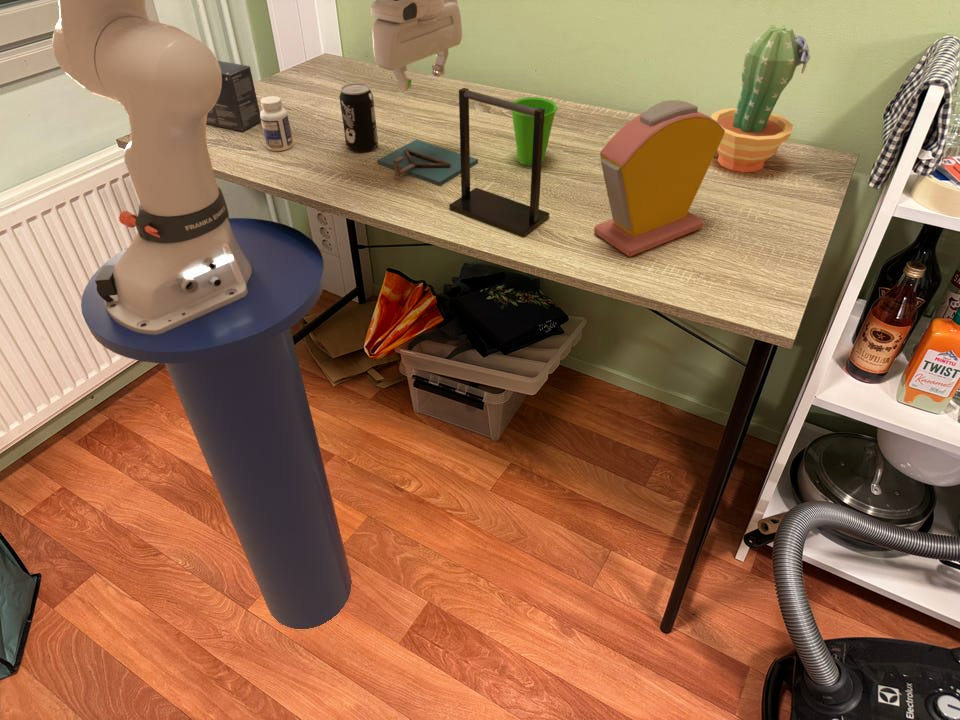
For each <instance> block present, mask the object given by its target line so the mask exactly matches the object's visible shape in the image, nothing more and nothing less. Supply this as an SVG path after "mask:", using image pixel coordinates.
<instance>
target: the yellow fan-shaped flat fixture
mask: <svg viewBox="0 0 960 720" xmlns="http://www.w3.org/2000/svg"><path fill="white" fill-rule="evenodd" d="M698 109H699V106H697V105H695V104H692V103H690V102H688V101H685V100H679V99H677V100H674V99H673V100H672V99H671V100H664V101H663V100H662V101H661V102H659V103H656V104H654V105H652V106H651V107H649V108H648V109H647V110H645V111H644V112H641V113H640V114H638V115H637V116H636V117H634V118H632V119H631V120H630V121H628V122H626V124H625V125H624V126H623V127H621V129H619V131H617V132H616V133H615V134H614V135H613V136H612V137H611V138H610V140H608V142H607V143H606V144H605V146H604V147H603V148H602V149H601V150H600V153H599V155H600V165H601V169H602V174H603V179H604V185H605V188H606V193H607V198H608V203H609V207H610V212H611V216H612V218H611V219H608V220H605V221H603V222H600V223H597V224H596V225H594V230H593V233H594V234H595V235H597V236H598V237H599V238H601V239H603V240H604V241H605V242H607V243H608V244H610V245H611V246H613V247H614V248H616V249H617V250H619V251H620V252H621V253H623V254H624V255H626V256H627V257H629V258H630V257H633V256H636V255H638V254H641V253H643V252H646V251H648V250H650V249H653V248H655V247H658V246H660V245H663V244H666V243H667V242H671V241H673V240H675V239H678V238H681V237H683V236H686V235H687V234H690V233H693V232H696V231H698V230H701V229H703V225H704V220H702V219H701V218H700V217H698V216H696V215H694V214H692V212H689V211H690V209H691V207H692V204H693V202H694V200H695V198H696V196H697V194H698V191H699V189H700V188H701V186H702V185H701V184H702V183H703V181H704V178H705V176H706V174H707V172H708V170H709V169H710V166H711V164H712V162H713V159H714V157H715V155H716V154H717V152H718V151H717V149H718V147H719V145H720V142H721V140H722V138H723V136H724V134H725V133H724V132H725V130H724V129H723V128H722V127H721V125H720V124H719V123H718V122H717V121H715V120H714V119H712V118H711V116H708V115H707V114H706V113H705V114H704V113H703V112H700V111H698Z"/></svg>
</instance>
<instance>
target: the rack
mask: <svg viewBox="0 0 960 720" xmlns="http://www.w3.org/2000/svg"><path fill="white" fill-rule="evenodd" d="M470 100H472V101H475V102H479V103H482V104H483V103H484V104H487V105H491V106H495V107H498V108H502V109H505V110H509V111H511V112H512V111H515V112H519V113H523V114H526V115H530V116H533V117H534V133H533V153H532V166H531V175H530V176H531V177H530V180H531V181H530V194H529V195H530V196H529V205H527V204H524V203H522V202H519V201H516V200H513V199H511V198H507V197H505V196H501V195H500V194H496V193H493V192H490V191H487V190H485V189H482V188H478V187H474V188H473V189H471V167H470V157H471V154H470V153H471V152H470V151H471V150H470V149H471V147H470V146H471V145H470ZM458 112H459V113H458V115H459V149H460V150H459V153H460V156H461V173H460V190H461V191H460V192H461V196H460V197H459V198H458V199H456V200H453V202H451V203H449V205H448V207H449V208H448V209H449V210H450V211H452V212H455V213H458V214H460V215H464V216H466V217H468V218H471V219H475V220H477V221H479V222H482V223H485V224H487V225H490V226H493V227H495V228H498V229H500V230H503V231H506V232H507V233H508V232H509V233H510V234H514V235H517V236H519V237H522V238H525V237H526V236H528V235H529V234H530V233H532V232H533V231H534V230H535V229H537V228H538V227H539V226H540V225H542V224H543V223H544V222H546V221H548V219H550V212H548V211H545V210H542V209H540V196H541V195H540V194H541V179H542V165H543V163H542V147H543V130H544V113H545V109H541V108H539V109H536V108H532V107H528V106H525V105H521V104H517V103H514V102H513V101H509V100H505V99H502V98H498V97H494V96H491V95H487V94H483V93H481V92H476V91H472V90H470V89H469V88H466V87H462V88H460V89H458Z"/></svg>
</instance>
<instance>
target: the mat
mask: <svg viewBox="0 0 960 720" xmlns="http://www.w3.org/2000/svg"><path fill="white" fill-rule="evenodd" d="M404 149H408V150H411V151H414V152H417V153H420V154H423V155H426V156H429V157H432V158H435V159H438V160H441V161H444V162H447V163H450V164H451V166H450V167H415V168H414V169H412V170H410V171H408V172H407V173H405V174H406V175H409V176H412V177H414V178H417V179H420V180H422V181H424V182H425V181H426V182H428V183H431V184H434V185H437V186H439V187H441V186H442V185H444V184H446V183H448V182H449V181H450V180H452V179H455V177H457V176H458V175H461V156H460V152H457V151H454V150H451V149H448V148H444V147H442V146H438V145H436V144H433V143H429V142H426V141H423V140H420V139H414V140H413V141H411V142H408V143H407V144H405V145H403V146H401V147H400V148H397V149H396V150H393V151H392V152H389V153H388V154H386V155H384V156H382V157H379V158H378V159H377V164H378V165H381V166H383V167H386V168H389V169H391V170H394V164H393V160H394V159H396V158H398V157H403V158H404V161H402V162H400V170H401V169H403V168H404V167H406V166H408V165H410V162H409V160H408V158H407V156H406V154H405V152H404ZM411 157H412V159H413V161H414V162H415V163H434V162H431V161H428V160H425V159H422V158H419V157H416V156H413V155H411ZM478 163H479V159H478V158H475V157H472V156H470V168H472V167H473V166H475V165H476V164H478Z"/></svg>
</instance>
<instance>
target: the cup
mask: <svg viewBox="0 0 960 720" xmlns="http://www.w3.org/2000/svg"><path fill="white" fill-rule="evenodd" d="M512 102H514V103H517V104H521V105H525V106H528V107H532V108H536V109H539V108H541V109H545V113H544V130H543V147H542V164H543V163H544V161H545V158H546V154H547V149H548V145H549V141H550V135H551V131H552V126H553V122H554V119H555V114H556V112H558V111H557V110H558V104H557V103H556V102H554V101H553V100H551V99H548V98H544V97H538V96H537V97H536V96H534V97H533V96H529V97H521V98H518V99H515V100H513V101H512ZM511 116H512V123H513V130H514V138H515V146H516V154H517V160H518V162H519V164H521V165H523V166H527V167H532V153H533V133H534V117H533V116H530V115H526V114H523V113H519V112H515V111H512V110H511Z"/></svg>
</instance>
